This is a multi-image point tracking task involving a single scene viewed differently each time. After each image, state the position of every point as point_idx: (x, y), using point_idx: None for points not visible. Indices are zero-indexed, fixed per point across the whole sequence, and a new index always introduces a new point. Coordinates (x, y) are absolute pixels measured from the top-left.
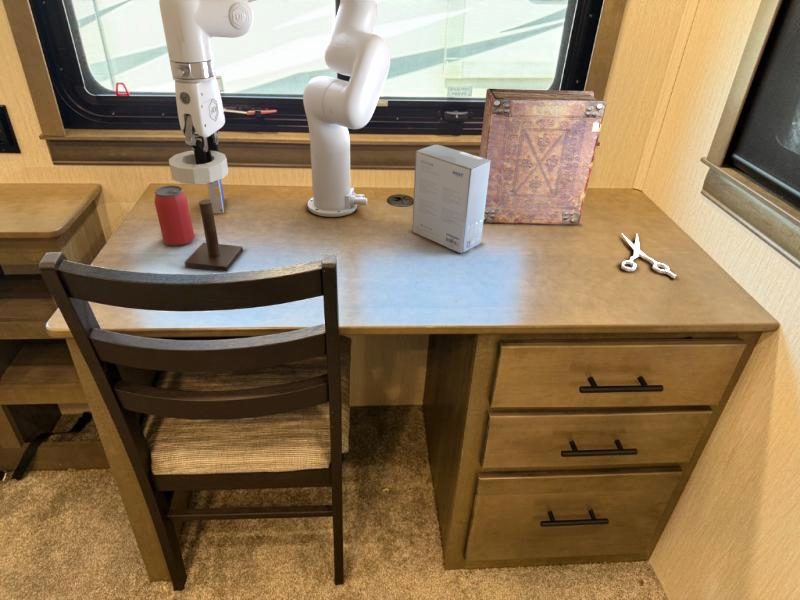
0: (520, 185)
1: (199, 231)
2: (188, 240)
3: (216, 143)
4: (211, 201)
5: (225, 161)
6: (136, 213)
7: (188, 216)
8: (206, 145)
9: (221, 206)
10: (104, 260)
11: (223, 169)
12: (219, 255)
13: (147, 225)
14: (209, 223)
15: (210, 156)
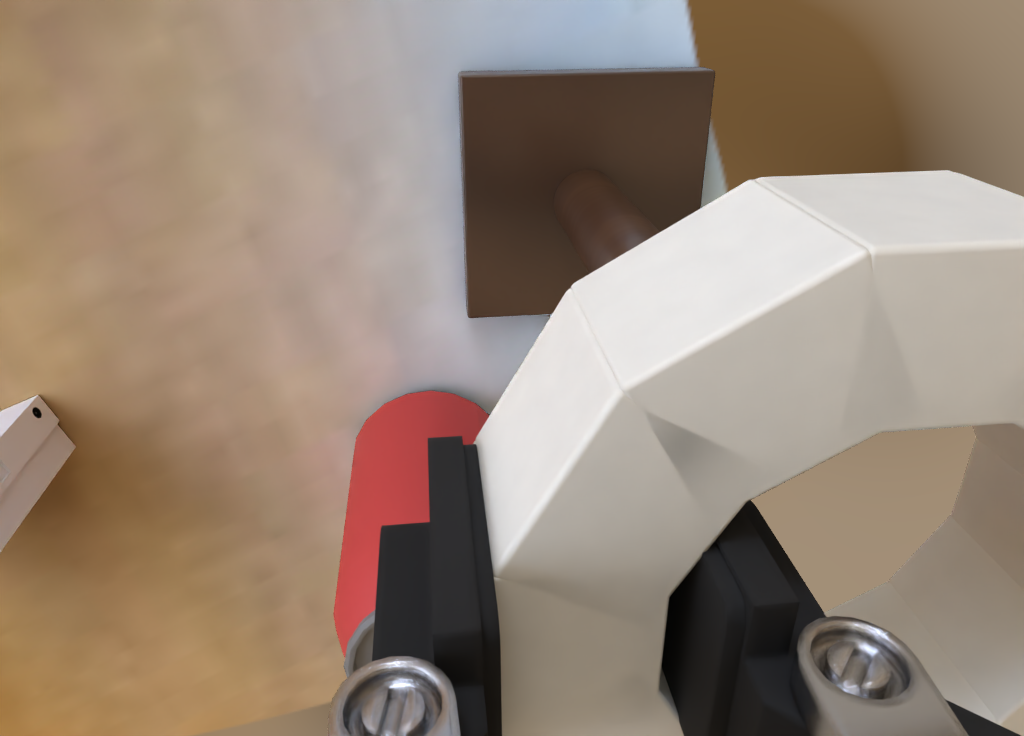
0: None
1: (306, 408)
2: (459, 399)
3: (429, 670)
4: (38, 486)
5: (909, 235)
6: (240, 722)
7: (424, 467)
8: (879, 712)
9: (21, 421)
10: None
11: (964, 202)
12: (596, 165)
13: (332, 633)
14: None
15: (755, 535)
